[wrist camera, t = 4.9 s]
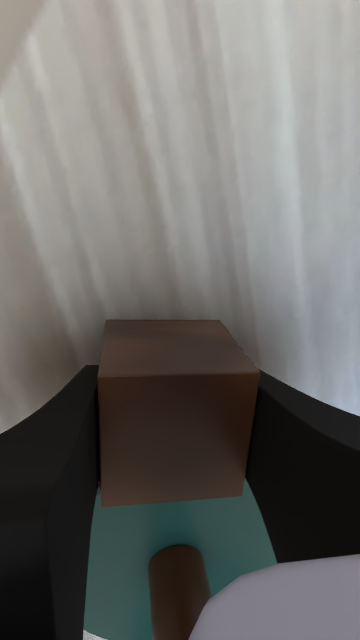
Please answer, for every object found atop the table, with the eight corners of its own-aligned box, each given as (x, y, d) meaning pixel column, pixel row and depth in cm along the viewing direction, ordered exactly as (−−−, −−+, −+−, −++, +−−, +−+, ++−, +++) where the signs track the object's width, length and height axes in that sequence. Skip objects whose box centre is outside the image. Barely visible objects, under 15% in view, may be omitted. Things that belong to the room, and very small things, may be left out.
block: (107, 419, 13) (100, 508, 9) (105, 319, 12) (97, 375, 8) (210, 415, 14) (243, 496, 10) (219, 320, 12) (261, 372, 9)
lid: (59, 634, 16) (37, 784, 12) (44, 455, 13) (6, 577, 9) (265, 605, 18) (308, 728, 14) (298, 441, 15) (368, 538, 10)
